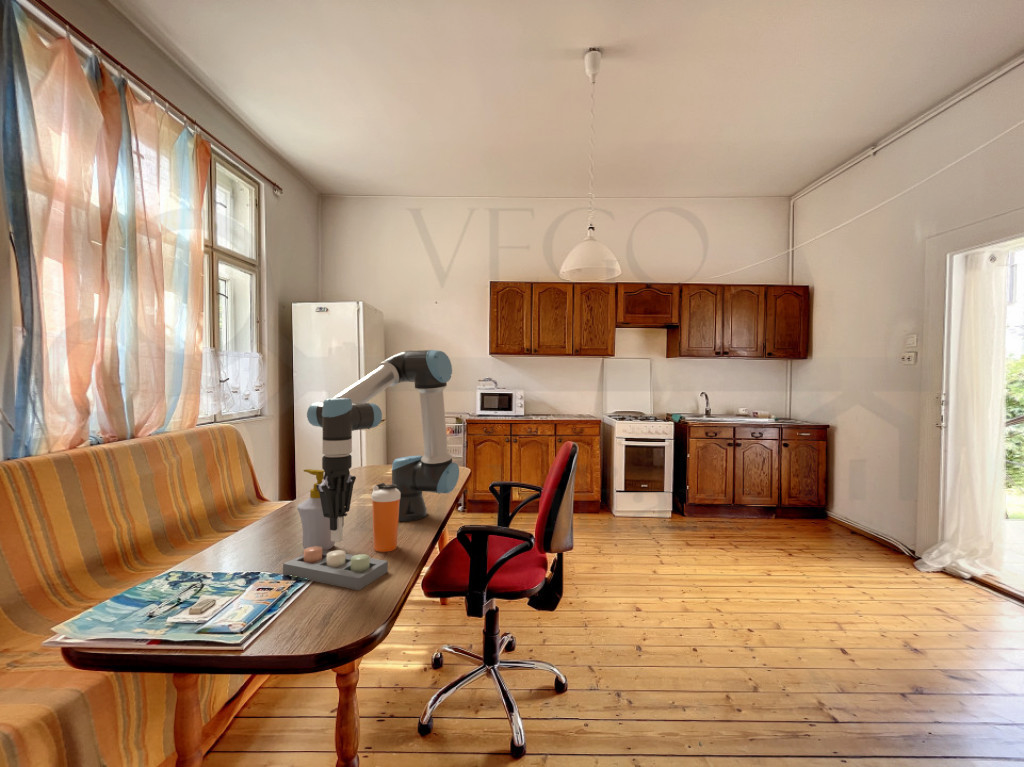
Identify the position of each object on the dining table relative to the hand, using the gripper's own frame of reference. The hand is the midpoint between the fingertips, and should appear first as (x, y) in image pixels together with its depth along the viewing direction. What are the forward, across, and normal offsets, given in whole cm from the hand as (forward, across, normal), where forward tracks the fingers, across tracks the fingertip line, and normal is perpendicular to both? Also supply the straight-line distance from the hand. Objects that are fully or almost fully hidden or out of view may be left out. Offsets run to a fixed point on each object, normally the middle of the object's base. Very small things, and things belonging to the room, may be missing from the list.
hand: (336, 540), depth 125 cm
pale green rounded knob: (+8, 0, +8) cm, 11 cm away
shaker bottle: (+9, -21, +1) cm, 23 cm away
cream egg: (+8, 0, 0) cm, 8 cm away
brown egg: (+8, 0, -8) cm, 11 cm away
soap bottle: (+9, -13, -18) cm, 24 cm away
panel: (+9, 0, 0) cm, 9 cm away
